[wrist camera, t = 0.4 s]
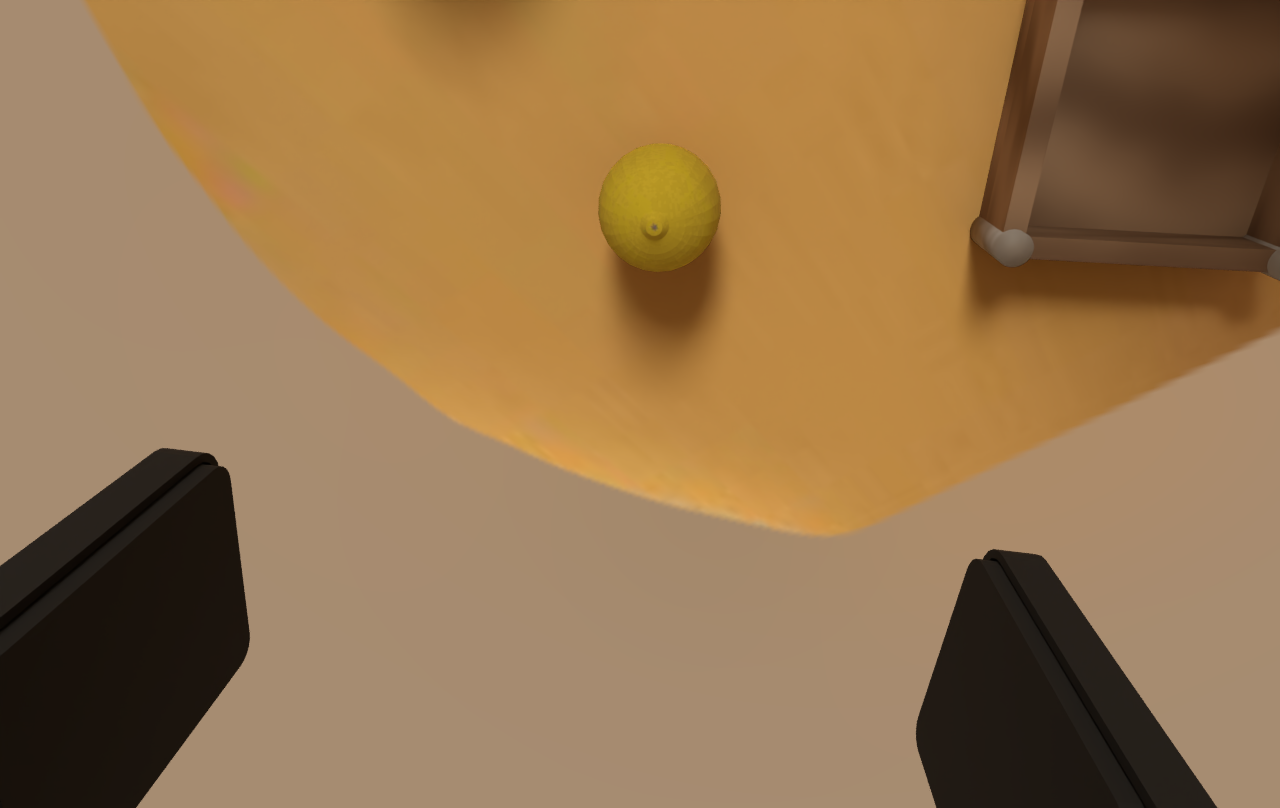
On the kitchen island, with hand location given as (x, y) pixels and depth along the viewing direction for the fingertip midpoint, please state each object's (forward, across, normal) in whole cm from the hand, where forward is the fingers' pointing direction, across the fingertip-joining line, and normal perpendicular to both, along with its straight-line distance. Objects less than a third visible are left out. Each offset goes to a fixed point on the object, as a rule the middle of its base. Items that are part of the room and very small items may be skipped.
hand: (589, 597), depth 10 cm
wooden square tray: (+32, -22, -6) cm, 39 cm away
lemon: (+33, 0, 0) cm, 33 cm away
